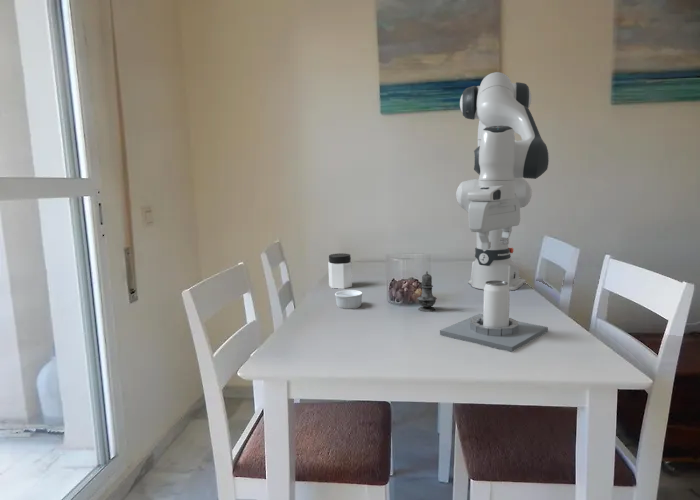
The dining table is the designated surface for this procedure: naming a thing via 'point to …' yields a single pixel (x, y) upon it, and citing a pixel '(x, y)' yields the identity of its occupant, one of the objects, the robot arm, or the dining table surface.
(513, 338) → the board
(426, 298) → the salt shaker
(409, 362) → the dining table surface
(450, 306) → the dining table surface
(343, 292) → the ramekin
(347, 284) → the jar
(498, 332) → the collar
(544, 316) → the dining table surface
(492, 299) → the can
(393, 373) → the dining table surface
